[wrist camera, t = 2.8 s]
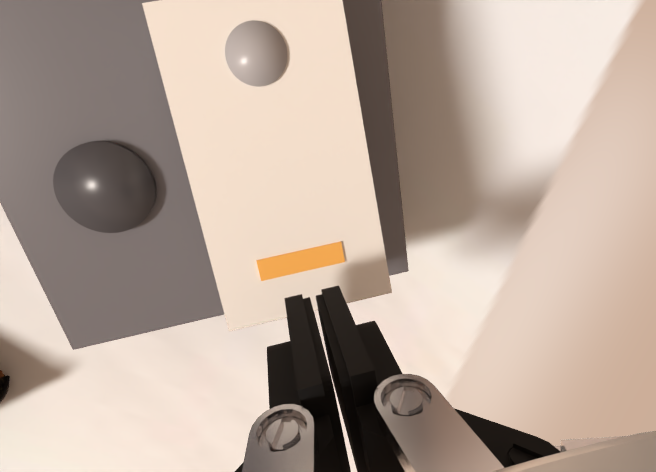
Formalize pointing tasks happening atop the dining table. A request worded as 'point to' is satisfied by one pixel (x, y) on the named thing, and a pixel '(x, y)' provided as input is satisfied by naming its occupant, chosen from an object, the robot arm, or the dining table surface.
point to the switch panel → (132, 165)
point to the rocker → (272, 149)
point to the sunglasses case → (3, 385)
